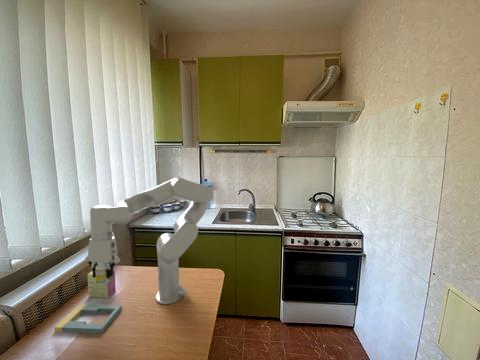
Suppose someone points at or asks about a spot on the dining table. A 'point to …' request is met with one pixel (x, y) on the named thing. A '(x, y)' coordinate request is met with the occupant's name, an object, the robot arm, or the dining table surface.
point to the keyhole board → (80, 326)
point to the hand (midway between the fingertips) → (103, 275)
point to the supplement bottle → (101, 273)
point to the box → (101, 287)
